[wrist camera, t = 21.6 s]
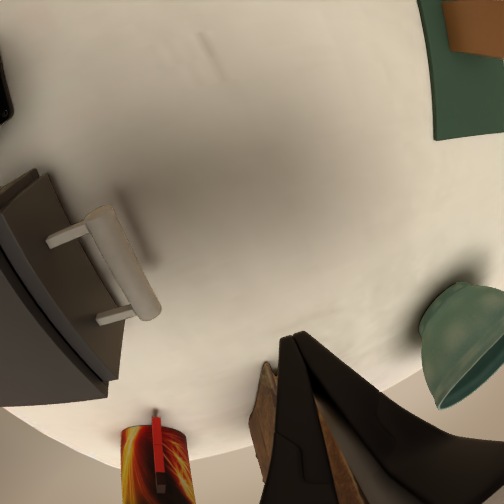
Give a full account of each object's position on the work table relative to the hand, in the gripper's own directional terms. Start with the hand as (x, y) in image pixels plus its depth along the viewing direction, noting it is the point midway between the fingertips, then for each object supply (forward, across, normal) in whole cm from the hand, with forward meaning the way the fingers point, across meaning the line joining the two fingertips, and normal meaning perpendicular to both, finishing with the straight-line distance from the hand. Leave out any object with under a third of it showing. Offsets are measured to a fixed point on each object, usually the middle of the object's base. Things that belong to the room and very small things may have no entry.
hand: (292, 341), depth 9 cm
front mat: (+12, -23, -11) cm, 28 cm away
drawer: (+11, +15, 0) cm, 19 cm away
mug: (+12, +20, +28) cm, 37 cm away
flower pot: (+12, -23, +22) cm, 34 cm away
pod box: (+12, -22, -11) cm, 27 cm away
